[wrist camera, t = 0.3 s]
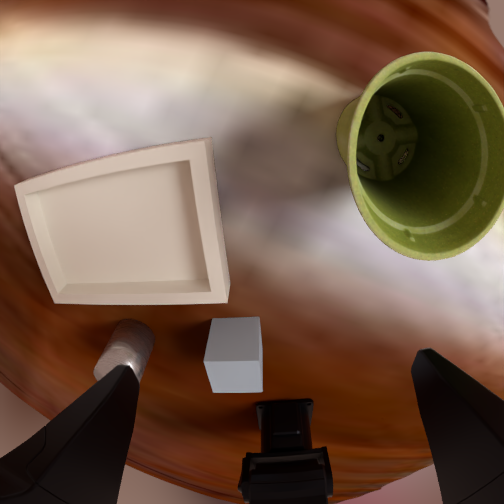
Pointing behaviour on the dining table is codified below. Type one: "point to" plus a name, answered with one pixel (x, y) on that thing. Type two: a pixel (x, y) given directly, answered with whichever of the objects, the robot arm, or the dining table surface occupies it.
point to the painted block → (234, 355)
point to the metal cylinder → (127, 348)
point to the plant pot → (426, 155)
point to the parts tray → (130, 227)
